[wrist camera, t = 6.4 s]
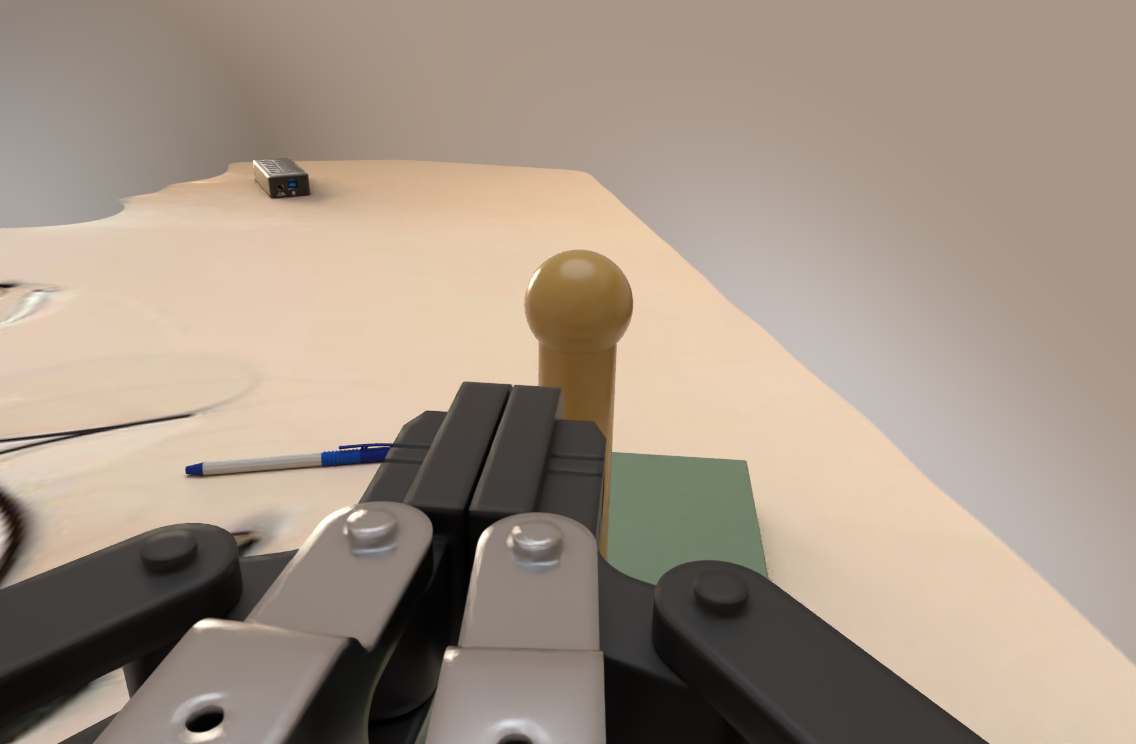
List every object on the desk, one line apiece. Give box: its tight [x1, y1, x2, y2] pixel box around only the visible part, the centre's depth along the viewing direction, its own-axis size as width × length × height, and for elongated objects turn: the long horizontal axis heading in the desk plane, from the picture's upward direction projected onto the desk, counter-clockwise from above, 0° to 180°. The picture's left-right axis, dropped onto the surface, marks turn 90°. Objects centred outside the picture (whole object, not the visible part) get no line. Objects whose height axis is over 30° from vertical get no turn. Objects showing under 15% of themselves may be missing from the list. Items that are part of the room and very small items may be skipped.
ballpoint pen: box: [185, 443, 393, 475], centre depth 44 cm, size 10×1×1 cm, turn 103°
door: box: [607, 452, 769, 585], centre depth 31 cm, size 14×22×5 cm, turn 175°
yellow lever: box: [525, 250, 633, 561], centre depth 24 cm, size 3×11×13 cm, turn 175°
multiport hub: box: [253, 158, 310, 198], centre depth 102 cm, size 4×11×2 cm, turn 27°
